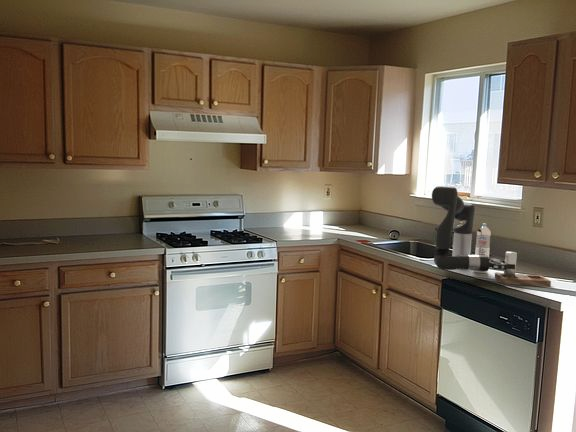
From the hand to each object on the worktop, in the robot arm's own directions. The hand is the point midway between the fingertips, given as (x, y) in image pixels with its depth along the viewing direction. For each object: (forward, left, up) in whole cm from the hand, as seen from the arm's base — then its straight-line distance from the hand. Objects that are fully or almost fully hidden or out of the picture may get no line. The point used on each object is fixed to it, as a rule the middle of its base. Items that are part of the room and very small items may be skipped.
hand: (512, 264), depth 262 cm
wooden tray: (0, +5, -8) cm, 9 cm away
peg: (0, -1, -8) cm, 8 cm away
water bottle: (-17, -10, -8) cm, 21 cm away
